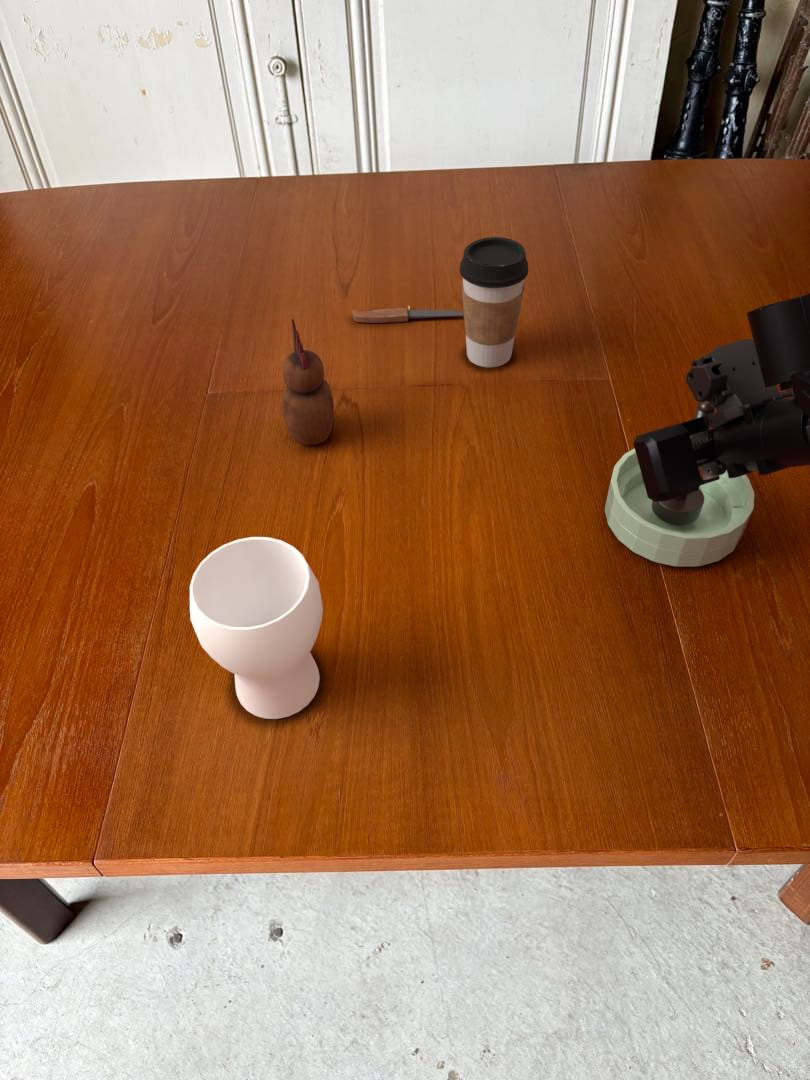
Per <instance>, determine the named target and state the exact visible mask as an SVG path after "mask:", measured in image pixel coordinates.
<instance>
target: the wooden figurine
mask: <svg viewBox="0 0 810 1080" xmlns="http://www.w3.org/2000/svg"><path fill="white" fill-rule="evenodd" d="M291 329H292V342H293V343H292V344H293V352H290V353H289V354H288V355H287V356H286V358H285V359H284V361H283V363H282V376H283V379H284V380H283V382H284V383H285V388H284V391H283V392H282V393H283V395H282V413H283V418H284V422H285V425H286V428H287V430H288V432H289V433H290V435H291V437H292V438H293V439H294V440H295V441H297V442H298V443H300V444H302V445H306V446H316V445H319V444H321V443H323V442H325V441H327V439H328V438H329V437H330V435H331V432H332V430H333V424H334V417H335V416H334V415H335V409H334V408H335V403H334V397H333V392H332V389H331V386H330V384H329V383H328V381H327V380H325V369H324V363H323V362H322V359H321V357H320V356H319V355H318V354H317V353H316V352H314V351H312V350H309V349H304V346H303V342H302V341H301V337H300V334H299V333H300V332H299V330H298V329H297V326H296V323H295V319H294V318H291Z"/></svg>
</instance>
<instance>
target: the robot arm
mask: <svg viewBox="0 0 810 1080" xmlns="http://www.w3.org/2000/svg"><path fill="white" fill-rule="evenodd" d="M746 316H747V321H748V325H749V329H750V333H751V336H752V339H751V338H745V339H741V340H737V341H733V342H730V343H727V344H723V345H720V346H719V345H718V346H717V347H715V348H713V349H712V350H711V351H710V352H709V353H708V354H707V353H706V354H703V355H702V357H699V358H695V359H692V361H691V368H690V369H689V370H688V372H687V373H686V375H685V383H686V384H687V386H688V388H689V391H690V392H691V394H692V396H693V398H694V400H695V401H696V402H698V403H701V402H704V401H708V402H710V403H711V405H712V406H714V407H715V410H716V411H715V412H714V413H711V414H707V415H708V419H709V423H710V428H711V429H710V428H709V430H707V428H706V424H705V420H704V417H699V418H696V419H694V418H693V419H689V420H687V421H683V422H681V423H676V424H672V425H669V426H665V427H661V428H657V429H655V430H651V431H647V432H645V433H641V434H638V435H636V437H635V439H634V441H633V443H632V445H633V447H634V448H635V452H636V455H637V459H638V463H639V466H640V470H641V474H642V478H643V481H644V485H645V489H646V493H647V496H648V498H649V499H651V500H652V501H654V502H662V501H668V500H671V499H674V498H677V497H680V496H683V495H686V494H690V493H693V492H696V491H698V490H699V487H700V486H701V485H704V484H707V483H710V482H713V481H716V480H719V479H720V477H719V476H720V475H722V474H724V473H725V472H726V470H727V473H728V477H729V478H737V477H740V476H743V475H746V476H747V475H749V474H752V473H755V472H758V475H759V476H767V475H770V474H774V473H776V472H779V471H782V470H786V469H788V468H789V469H790V468H798V467H806V466H810V292H808V293H805V294H803V295H800V296H796V297H792V298H788V299H785V300H782V301H778V302H773V303H771V304H767V305H763V306H759V307H757V308H755V309H752V310H750V311H748V312H746ZM778 386H779V387H778ZM634 448H633V449H634Z"/></svg>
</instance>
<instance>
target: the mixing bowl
mask: <svg viewBox="0 0 810 1080" xmlns="http://www.w3.org/2000/svg"><path fill="white" fill-rule="evenodd" d="M719 477H720V479H719V480H716V481H713V482H710V483H707V484H704V485H701V486H700V487H699V488H700V489H701V491H702V492H703V495H704V504H703V506H702V509H701V512H700V515H699V517H698V519H697V520H696V521H694V522H693V523H690V524H687V525H673V524H669V523H666V522H664V521H662V520H661V519H659V518H658V517H657V516H656V515H655V514H654V512H653V510H652V500H651V499H649V498H648V496H647V493H646V489H645V485H644V481H643V478H642V474H641V470H640V466H639V463H638V459H637V455H636V452H635V448H633V449H632V448H631V450H629V451H627V452H625V453H624V454H623V455H622V456H621V457H620V459H619V460H618V461H617V462H616V464H615V465H614V466H613V470H612V474H611V479H610V483H609V487H608V492H607V496H606V501H605V506H604V513H605V517H606V522H607V525H608V527H609V528H610V530H611V531H612V533H613V534H614V536H615V538H616V539H617V540H618V541H619V542H620V543H622V544H623V545H624V546H625V547H626V548H628V549H629V550H630V551H632V552H633V553H634V554H637V555H638V556H641V557H643V558H645V559H647V560H649V561H651V562H653V563H657V564H661V565H662V564H663V565H666V566H671V567H675V568H676V567H678V568H682V567H684V568H685V567H686V568H687V567H692V568H693V567H702V566H705V565H710V564H712V563H716V562H719V561H721V560H723V559H724V558H725V557H726V556H728V555H730V554H732V552H734V551H735V549H736V548H737V545H738V544H739V542H740V541H741V539H742V538H743V535H744V532H745V530H746V527H747V525H748V524H749V521H750V518H751V516H752V513H753V512H754V508H755V491H754V488H753V486H752V483H751V481H750V479H749V477H748V476H747V474H746V475H743V476H740V477H737V478H729V477H728V473H727V470H726V472H725V473H724V474H722V475H720V476H719Z"/></svg>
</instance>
